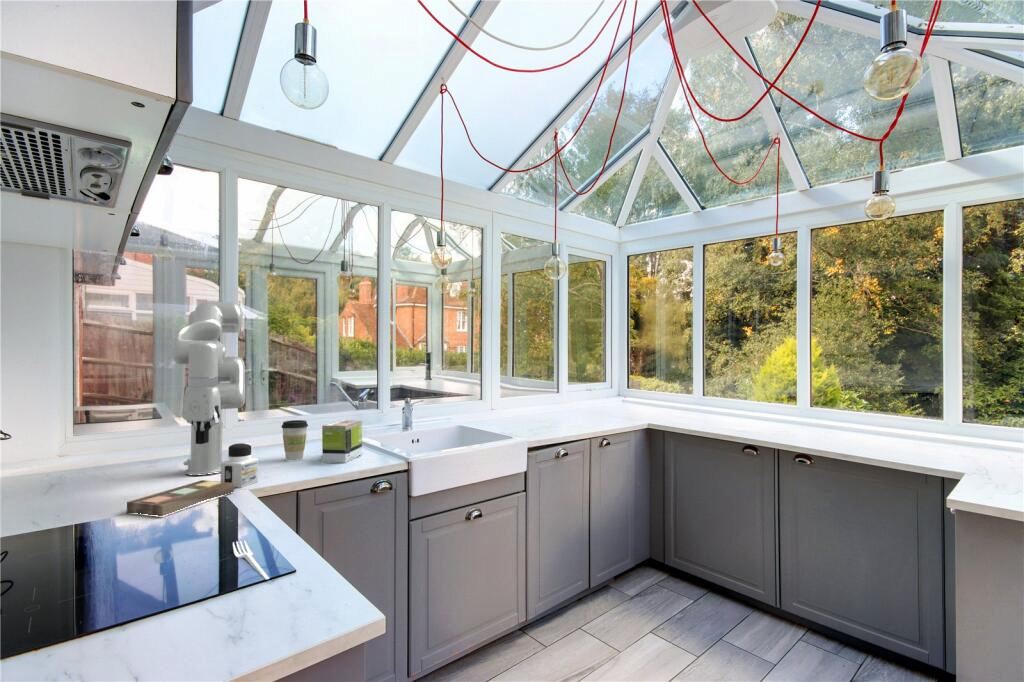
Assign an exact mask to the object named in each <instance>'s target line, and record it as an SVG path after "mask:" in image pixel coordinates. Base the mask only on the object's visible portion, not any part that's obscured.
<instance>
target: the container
mask: <svg viewBox="0 0 1024 682" xmlns="http://www.w3.org/2000/svg"><path fill="white" fill-rule="evenodd" d="M252 445H253V444H252ZM252 445H251V444H250V443H248V442H240V443H233V444H231V445H229V446H228V455H227V456H228V460H225V461H222V463H221V473H220V482H229V483H234V488H236V487H238V488H237V489H241V488H244V487H247V486H249V485H253V484H255V483H258V482H259V459H258V458H253V457H252Z"/></svg>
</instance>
